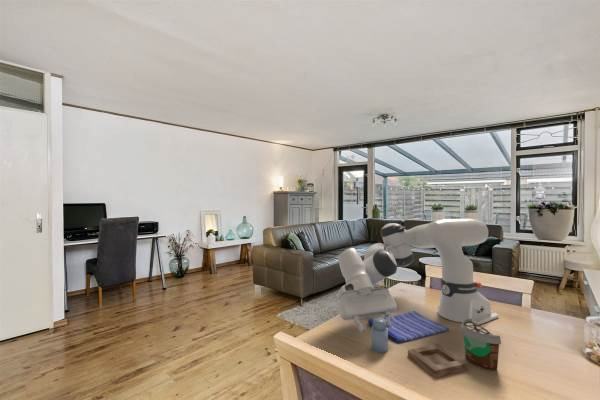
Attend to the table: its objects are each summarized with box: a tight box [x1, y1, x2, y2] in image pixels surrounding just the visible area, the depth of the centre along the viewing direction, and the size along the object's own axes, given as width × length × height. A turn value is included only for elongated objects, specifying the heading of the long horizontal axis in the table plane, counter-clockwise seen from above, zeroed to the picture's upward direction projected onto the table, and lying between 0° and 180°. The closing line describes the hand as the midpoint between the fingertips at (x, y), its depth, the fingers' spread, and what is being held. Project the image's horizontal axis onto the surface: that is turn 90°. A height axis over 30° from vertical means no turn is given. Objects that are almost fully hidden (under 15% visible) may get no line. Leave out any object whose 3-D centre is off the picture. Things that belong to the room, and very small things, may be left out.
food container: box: [460, 319, 502, 371], centre depth 84 cm, size 12×6×10 cm, turn 5°
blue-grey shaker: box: [370, 317, 389, 354], centre depth 91 cm, size 5×5×9 cm
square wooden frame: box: [407, 343, 469, 378], centre depth 83 cm, size 11×11×2 cm
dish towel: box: [367, 310, 450, 344], centre depth 106 cm, size 17×24×3 cm
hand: (376, 328), depth 92 cm, fingers open, 8 cm apart
